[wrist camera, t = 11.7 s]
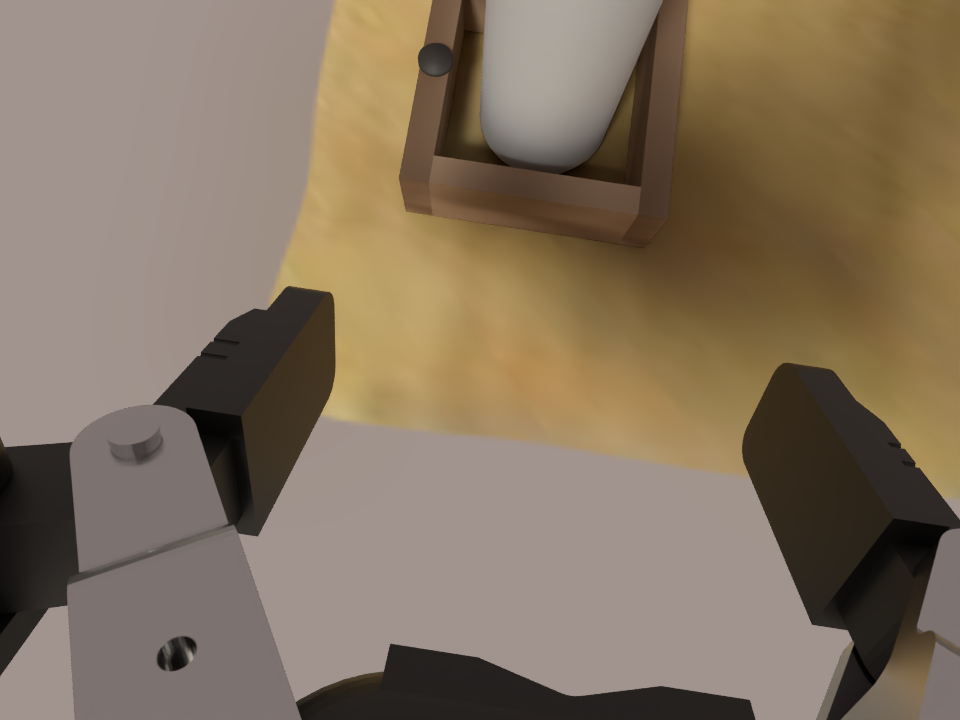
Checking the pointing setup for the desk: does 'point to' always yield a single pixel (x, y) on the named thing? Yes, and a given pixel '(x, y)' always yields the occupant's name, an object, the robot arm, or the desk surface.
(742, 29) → the desk surface
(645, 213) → the collar
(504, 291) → the desk surface
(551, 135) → the beverage can
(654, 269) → the desk surface
